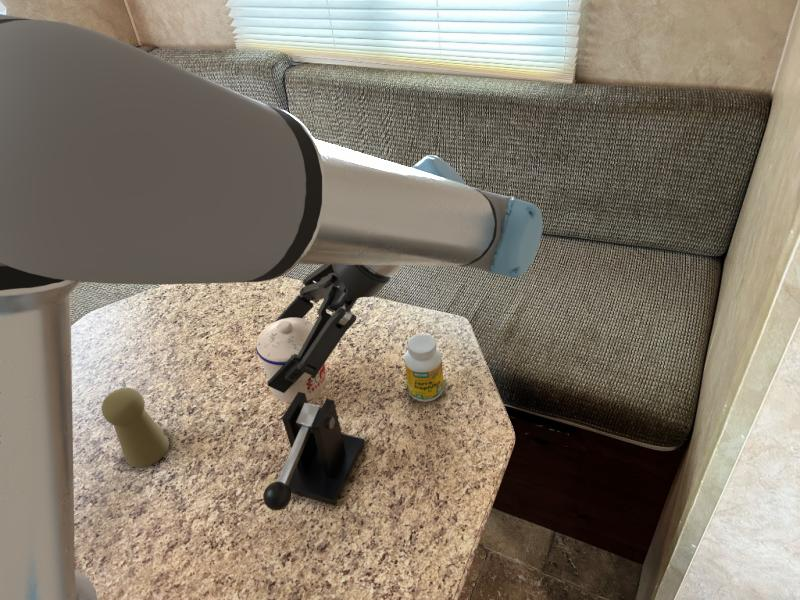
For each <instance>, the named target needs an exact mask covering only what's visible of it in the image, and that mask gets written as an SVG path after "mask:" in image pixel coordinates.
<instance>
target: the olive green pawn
mask: <svg viewBox="0 0 800 600" xmlns="http://www.w3.org/2000/svg"><path fill="white" fill-rule="evenodd" d="M144 399H145V398H144V397H143V394H141V392H139V391H138V390H137V389H135V388H132V387H121V388H118V389H115V390H113V391H111V392H109V394H108V395H107V396H105V398H104V400H103V402H102V405H101V413H102V416H103V418H104V419H105V421H106V422H107V423H109V424H110V425H113V427H114V430H115V433H116V436H117V439H118V442H119V444H120V447H121V450H122V453H123V456H124V459H125V461H126V462H127V464H128V465H129V466H131V467H133V468H146V467H149V466H152V465H154V464H155V463H157V462H159V461H160V460H161V459H163V457H164V456H165V455H166V453H167V451H168V450H169V446H170V441H169V438H168V437H167V436H166V434H165V433H164V431H163V430H162V428H160V426H159V425H158V424H157V423H156V422H155V420H154V419H153V418H152V417H151V415H150V414H149V412H148V411H147V410H146V409H145V407H146V405H145V400H144Z"/></svg>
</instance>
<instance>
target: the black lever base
mask: <svg viewBox="0 0 800 600" xmlns="http://www.w3.org/2000/svg"><path fill="white" fill-rule="evenodd" d="M304 403H309V402H308V401H307V398H306V395H305V393H302V392H298V393H297V395H296V396H295V398H294V400H293V401H292V403H289V405H288V408H287V409H286V411H285V412H284V414H283V415H282V416H281V419H282V424H283V426H284V429H285V432H286V435H287V439H288V442H289V445H290V450H291V449H292V446H293V444H294V442H295V440H296V437H297V435H298V433H299V430H300V427H299V426H298V425H297V423H296V421H297V418H298V416H299V414H300V412H301V409H302V407H303V405H304ZM311 426H312V430H313V433H310V435H309V437H308V440H307V442H306V444H305V447H304V449H303V452H302V454H301V456H300V459H299V461H298V463H297V466H296V468H295V470H294V473H293V475H292V478H291V480H290V482H289V485H288V486H289V488H290V490H291V494H292V495H296V496H298V497H299V496H300V497H303V498H307V499H310V500H313V501H316V502H320V503H324V504H328V505H330V506H336V504H337V502H338V500H339V498H340V496H341V494H342V493H343V490H344V488H345V487H346V484H347V483H348V480H349V478H350V476H351V474H352V472H353V469H354V467H355V466H356V463H357V461H358V459H359V457H360V455H361V454H362V451H363V448H365V447H364V446H365V445H366V444H365V439H364V438H362V437H357V436H353V435H350V434H346V433H342V429H341V426H340V421H339V416H338V412H337V408H336V402H335V400H334V399H331V398H325V401H324V402H323V404H322V406H321V409H320V411H319V413H318V415H317V416H316V418H315V420H314V421H313V423H312V425H311Z"/></svg>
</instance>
